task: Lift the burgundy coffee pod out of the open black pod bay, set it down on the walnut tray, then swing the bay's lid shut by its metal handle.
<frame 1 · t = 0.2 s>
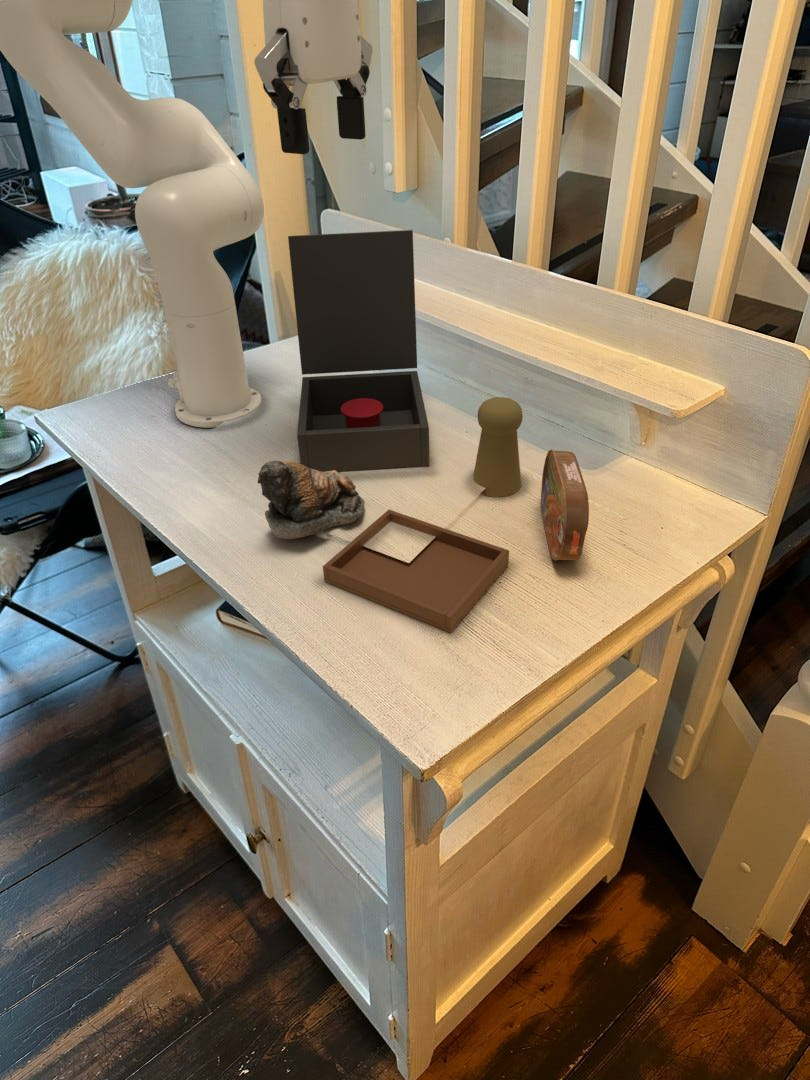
hand: (325, 145, 80), 37 cm above the cabinet top, tool pointing down, fingers open, 9 cm apart
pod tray: (417, 573, 79), on the cabinet top
tin: (559, 536, 84), on the cabinet top
bison figurine: (318, 530, 87), on the cabinet top
olive pawn piece: (496, 485, 93), on the cabinet top
coffee pod: (364, 437, 102), point 1 cm above the cabinet top, touching pod bay
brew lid: (355, 301, 103), point 15 cm above the cabinet top, hinge at 100.0°
pod bay: (364, 444, 102), on the cabinet top
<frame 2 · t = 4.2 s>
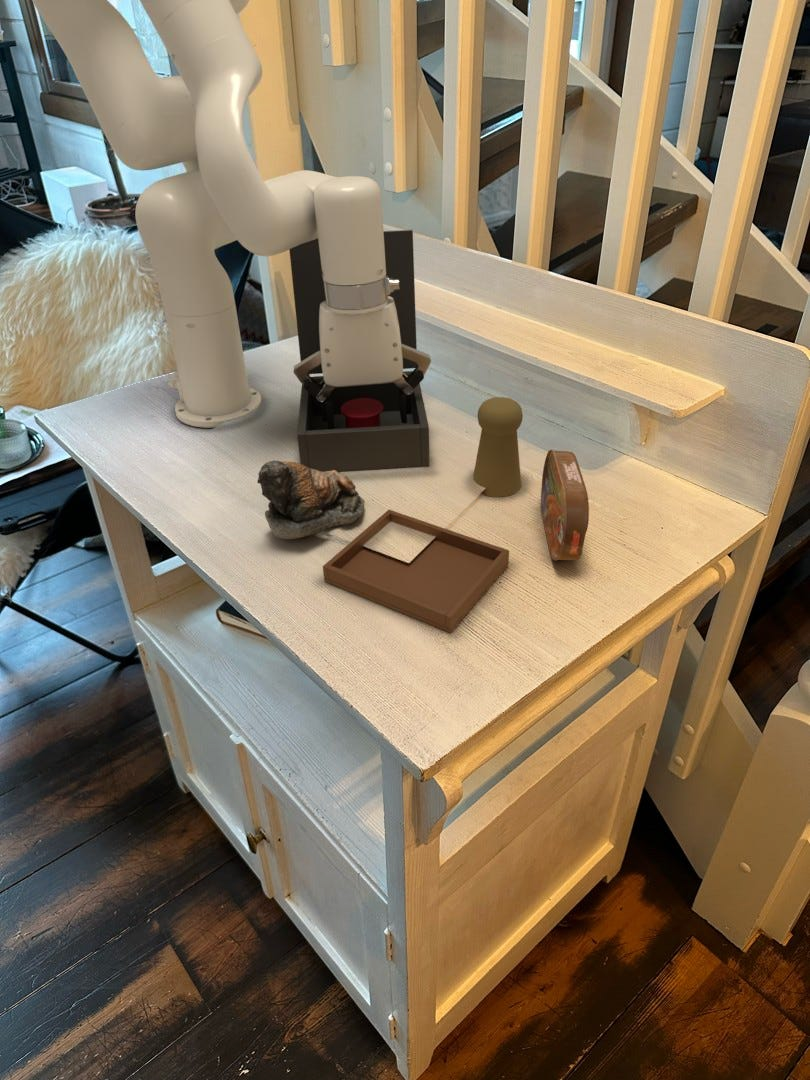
hand: (367, 422, 100), 4 cm above the cabinet top, tool pointing down, fingers open, 9 cm apart
nothing on the cabinet top moved.
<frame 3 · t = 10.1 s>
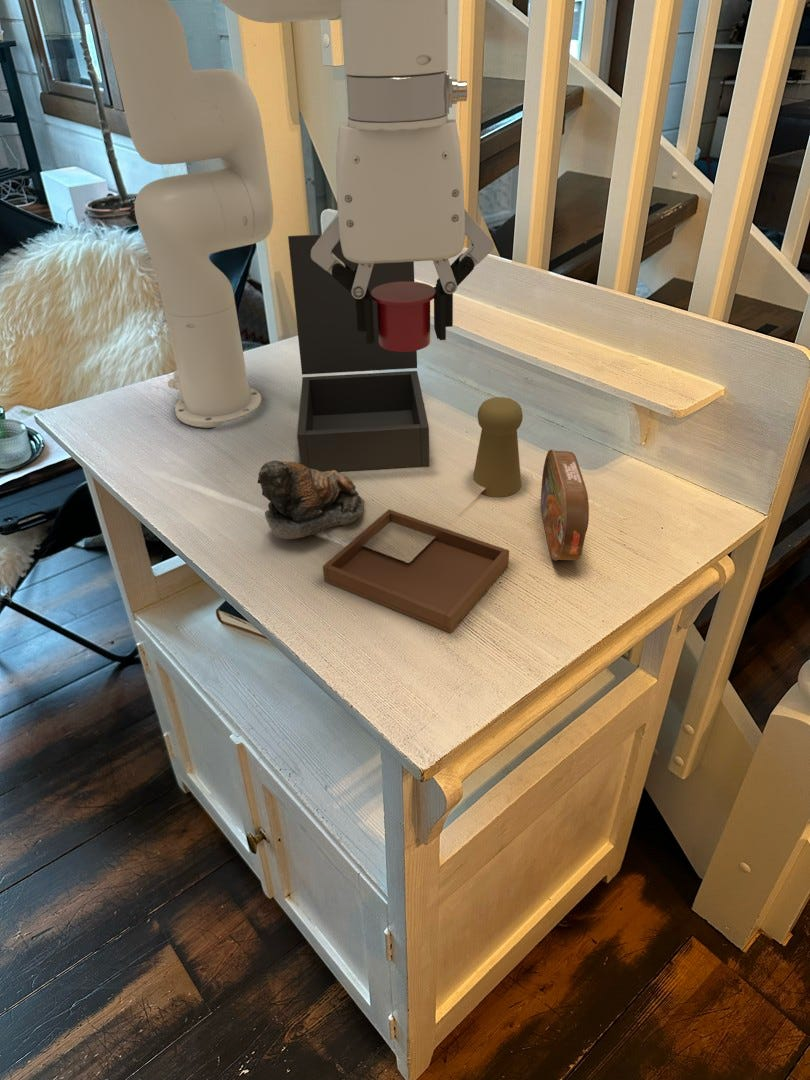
hand: (404, 334, 67), 25 cm above the cabinet top, tool pointing down, fingers closed on coffee pod, 5 cm apart
coffee pod: (404, 342, 67), point 24 cm above the cabinet top, touching gripper
everything else where it was.
when the fingers open (1 cm above the cabinet top, at t = 15.7 s): coffee pod stays where it is, resting on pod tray.
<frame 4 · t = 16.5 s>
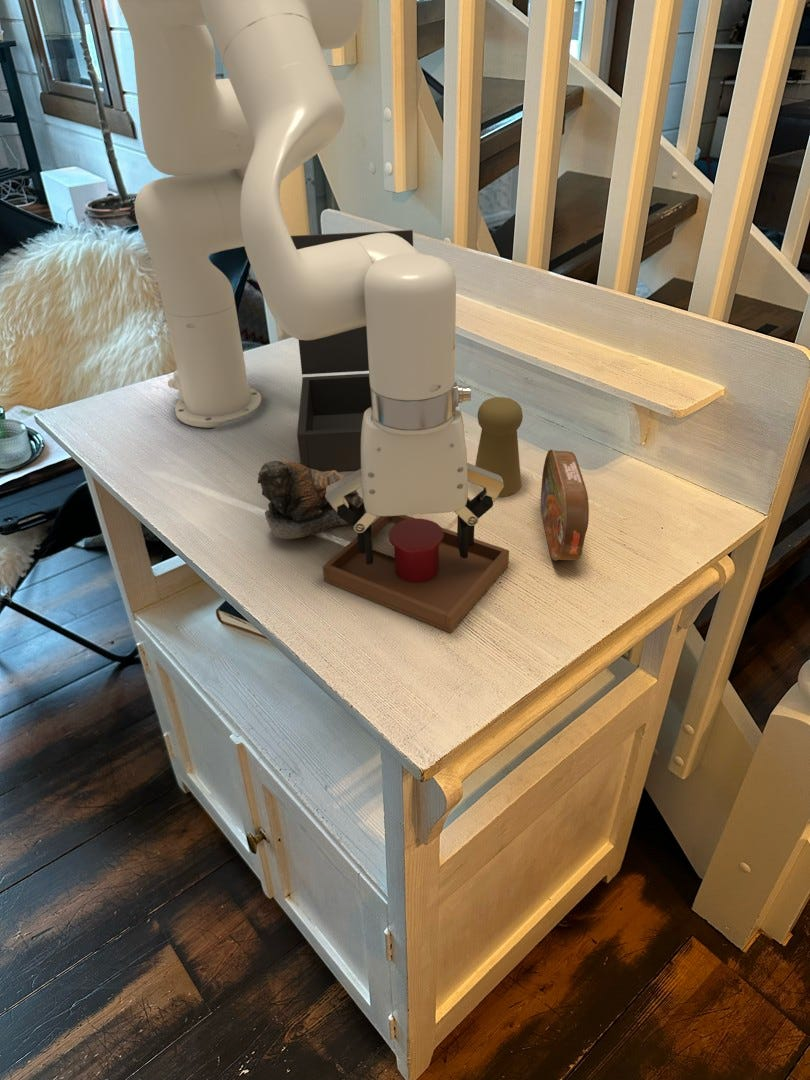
hand: (416, 553, 78), 3 cm above the cabinet top, tool pointing down, fingers open, 9 cm apart
coffee pod: (417, 568, 79), resting on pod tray
everything else where it was.
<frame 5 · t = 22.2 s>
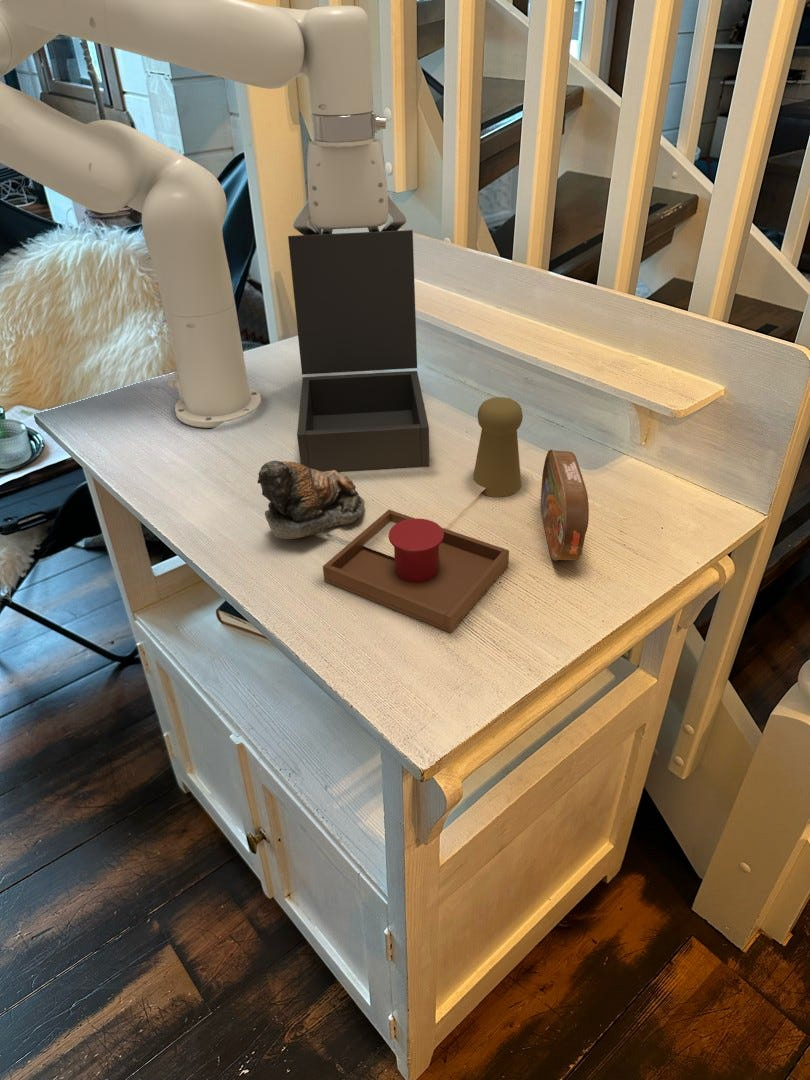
hand: (353, 277, 103), 18 cm above the cabinet top, tool pointing down, fingers closed on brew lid, 5 cm apart
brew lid: (355, 301, 103), point 15 cm above the cabinet top, hinge at 100.0°, touching gripper
everything else where it was.
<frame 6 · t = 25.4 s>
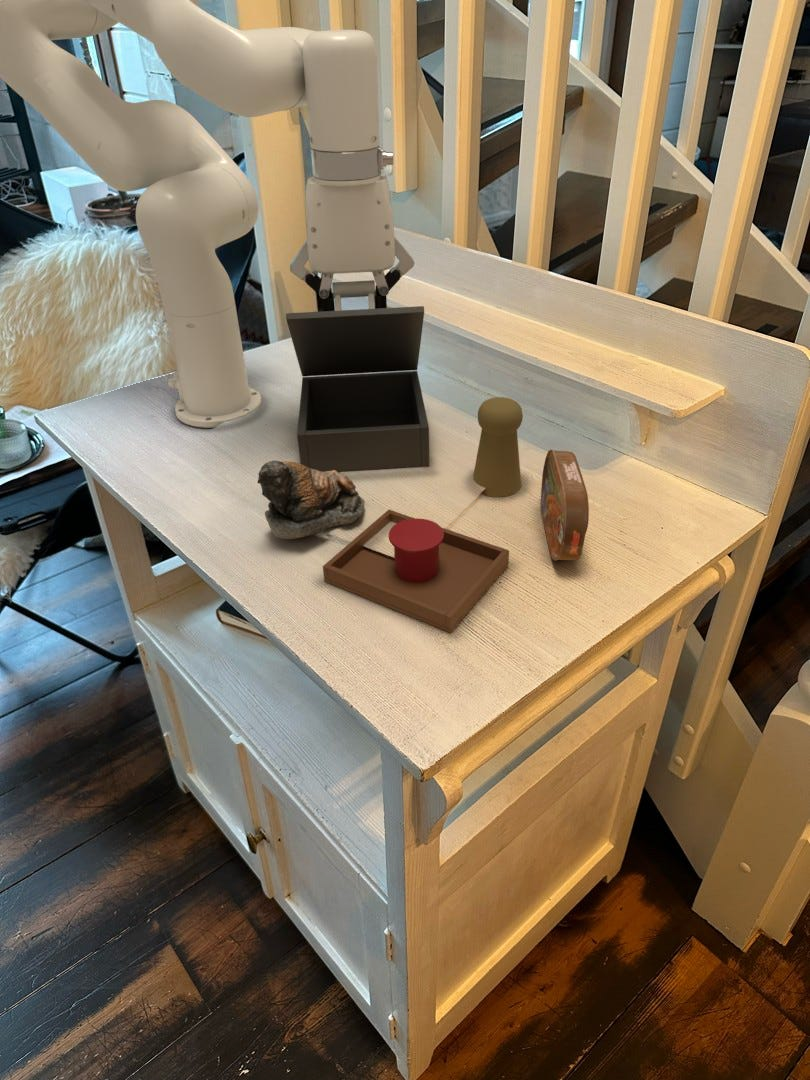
hand: (355, 324, 94), 16 cm above the cabinet top, tool pointing down, fingers closed on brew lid, 5 cm apart
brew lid: (356, 327, 97), point 15 cm above the cabinet top, hinge at 44.9°, touching gripper
everything else where it was.
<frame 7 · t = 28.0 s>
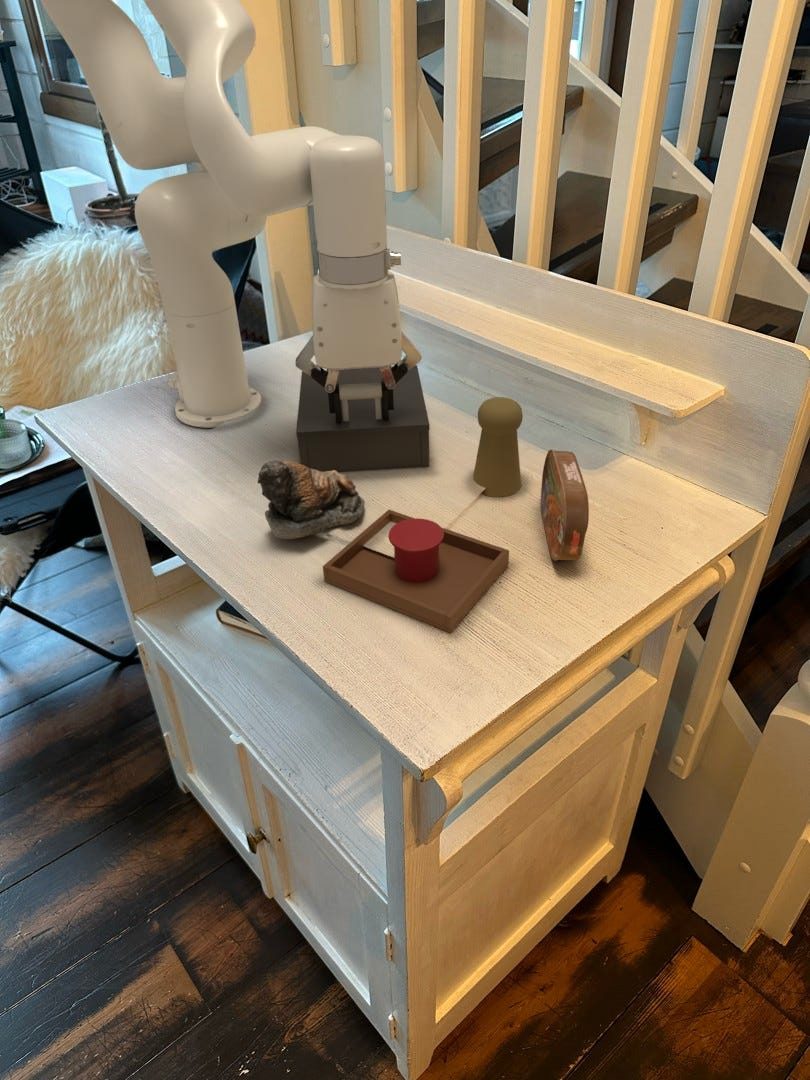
hand: (361, 414, 93), 8 cm above the cabinet top, tool pointing down, fingers closed on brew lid, 5 cm apart
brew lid: (360, 382, 97), point 9 cm above the cabinet top, hinge at -0.2°, touching gripper, pod bay
everything else where it was.
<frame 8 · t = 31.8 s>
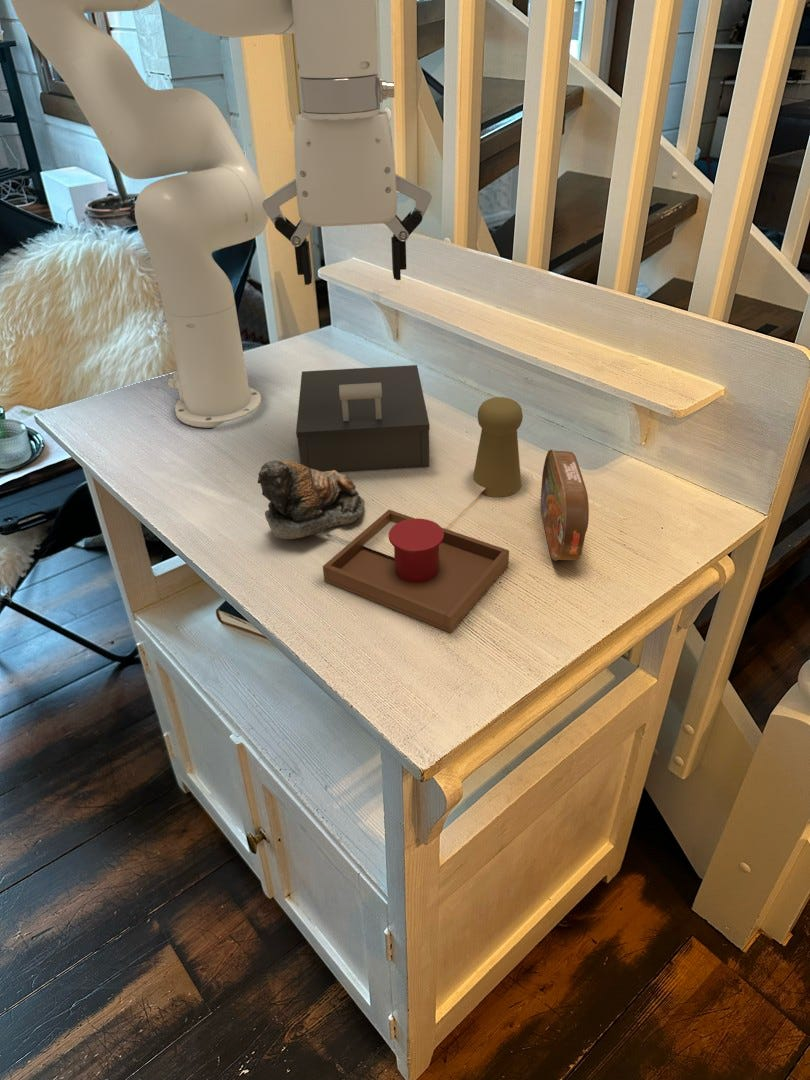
hand: (352, 278, 82), 24 cm above the cabinet top, tool pointing down, fingers open, 9 cm apart
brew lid: (360, 382, 97), point 9 cm above the cabinet top, hinge at -0.2°
everything else where it was.
at the end: coffee pod inside the target area in the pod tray (0.1 cm from its centre), point 0.5 cm above the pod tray's base; coffee pod tilted 0°; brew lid at +0° (first picture: +100°) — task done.
